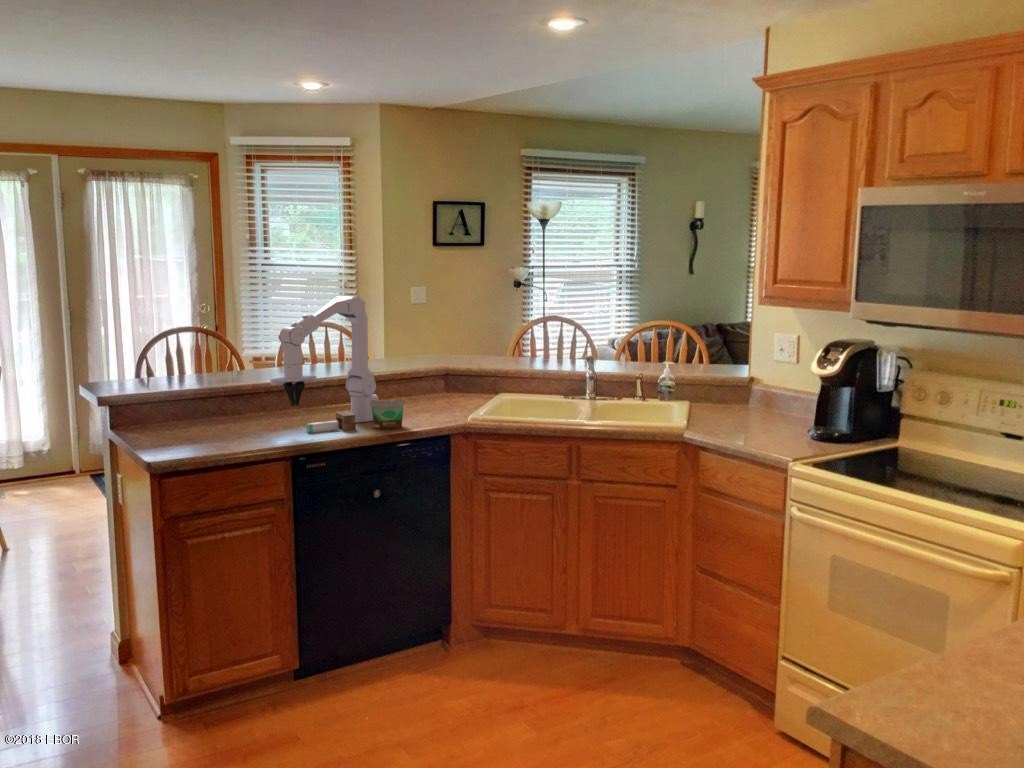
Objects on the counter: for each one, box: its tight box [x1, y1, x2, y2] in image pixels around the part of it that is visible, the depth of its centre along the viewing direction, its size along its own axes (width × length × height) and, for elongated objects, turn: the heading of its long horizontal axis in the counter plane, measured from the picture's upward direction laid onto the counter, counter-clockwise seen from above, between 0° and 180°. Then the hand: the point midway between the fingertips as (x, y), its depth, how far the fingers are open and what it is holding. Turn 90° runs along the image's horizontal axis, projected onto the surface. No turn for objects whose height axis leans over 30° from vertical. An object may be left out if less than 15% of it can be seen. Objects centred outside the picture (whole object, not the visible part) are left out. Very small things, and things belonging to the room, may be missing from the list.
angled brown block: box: [335, 410, 356, 432], centre depth 291 cm, size 4×8×5 cm, turn 31°
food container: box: [370, 396, 407, 431], centre depth 290 cm, size 12×6×10 cm, turn 118°
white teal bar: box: [305, 419, 340, 434], centre depth 287 cm, size 10×3×3 cm, turn 120°
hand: (294, 405), depth 282 cm, fingers closed
